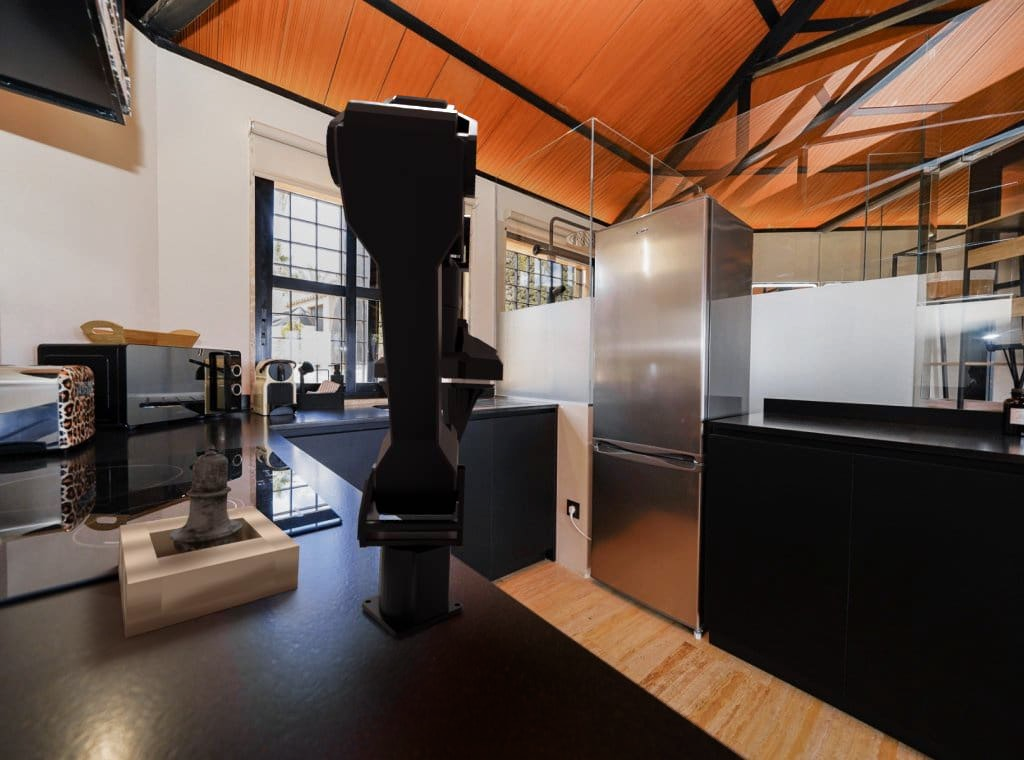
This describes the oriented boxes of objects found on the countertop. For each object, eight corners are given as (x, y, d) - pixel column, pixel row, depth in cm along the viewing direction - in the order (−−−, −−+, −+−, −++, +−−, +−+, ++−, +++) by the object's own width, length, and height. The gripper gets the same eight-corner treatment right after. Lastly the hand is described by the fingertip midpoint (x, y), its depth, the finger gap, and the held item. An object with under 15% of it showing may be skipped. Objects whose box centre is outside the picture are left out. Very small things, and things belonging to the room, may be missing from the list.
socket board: (297, 587, 40) (299, 545, 40) (125, 638, 31) (128, 584, 31) (251, 538, 52) (252, 505, 52) (117, 564, 43) (119, 525, 43)
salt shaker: (233, 574, 40) (238, 447, 40) (156, 583, 38) (163, 449, 38) (247, 551, 45) (252, 440, 45) (181, 557, 43) (186, 441, 43)
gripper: (539, 311, 49) (535, 445, 48) (444, 325, 62) (441, 430, 62) (463, 294, 41) (458, 454, 41) (374, 314, 54) (369, 434, 54)
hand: (430, 441), depth 49 cm, fingers open, 9 cm apart
